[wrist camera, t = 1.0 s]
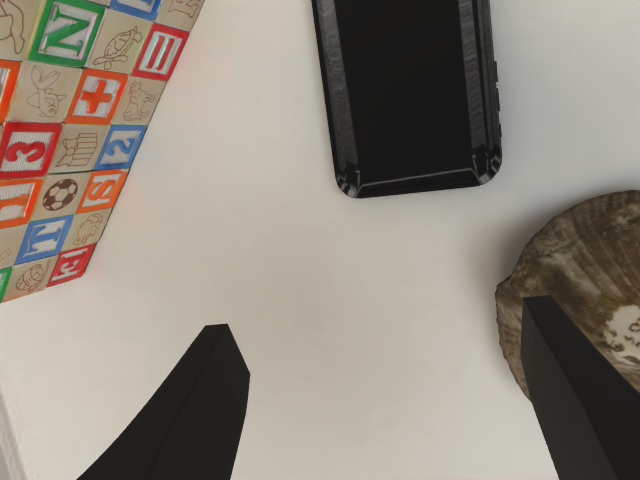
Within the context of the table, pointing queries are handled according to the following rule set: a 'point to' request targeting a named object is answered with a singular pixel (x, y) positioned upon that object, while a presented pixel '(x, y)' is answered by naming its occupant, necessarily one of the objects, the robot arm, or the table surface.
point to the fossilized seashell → (582, 280)
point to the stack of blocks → (74, 123)
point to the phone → (409, 94)
